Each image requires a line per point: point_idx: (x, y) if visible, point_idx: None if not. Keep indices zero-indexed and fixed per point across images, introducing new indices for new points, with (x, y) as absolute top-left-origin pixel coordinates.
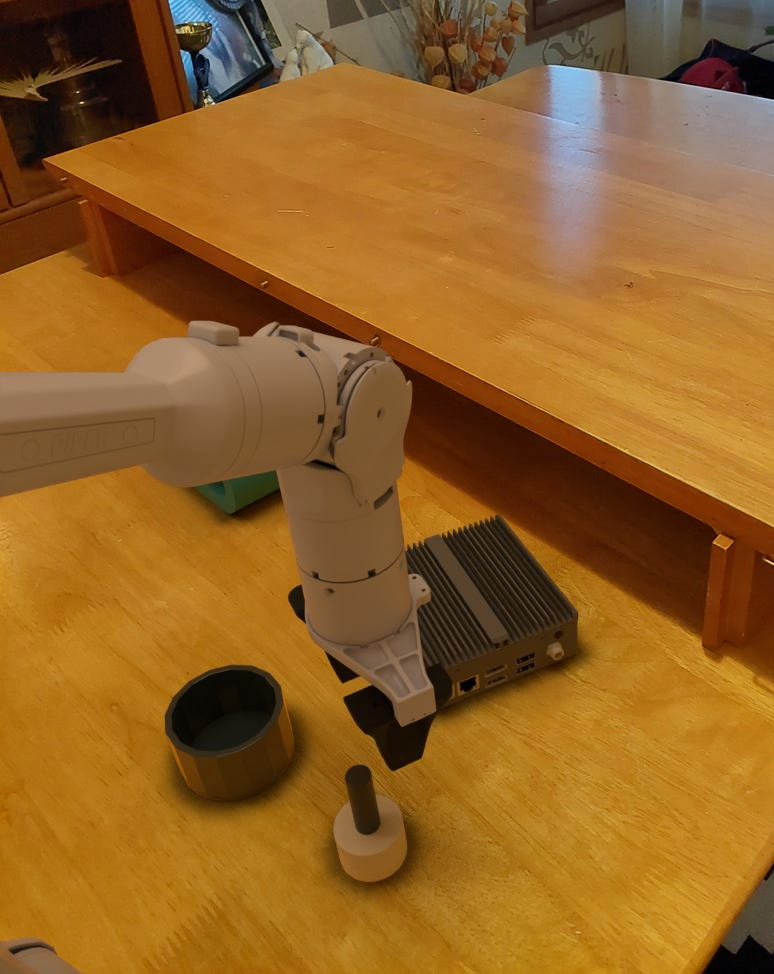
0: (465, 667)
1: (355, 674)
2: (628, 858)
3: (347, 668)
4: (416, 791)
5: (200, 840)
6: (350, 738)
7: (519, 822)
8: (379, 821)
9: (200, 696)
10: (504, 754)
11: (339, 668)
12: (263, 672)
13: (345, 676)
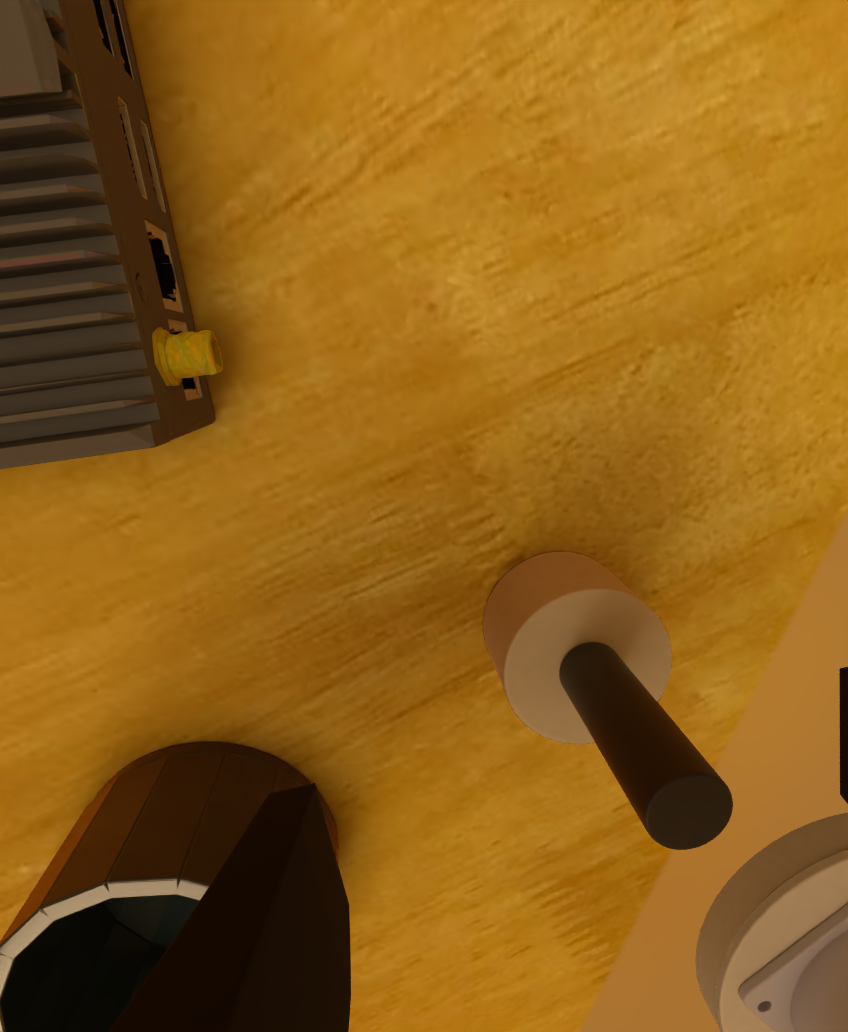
0: (132, 259)
1: (329, 868)
2: (823, 39)
3: (336, 959)
4: (443, 500)
5: (405, 914)
6: (237, 620)
7: (618, 281)
8: (612, 651)
9: (65, 1017)
10: (412, 244)
11: (342, 1013)
12: (34, 923)
13: (343, 924)
